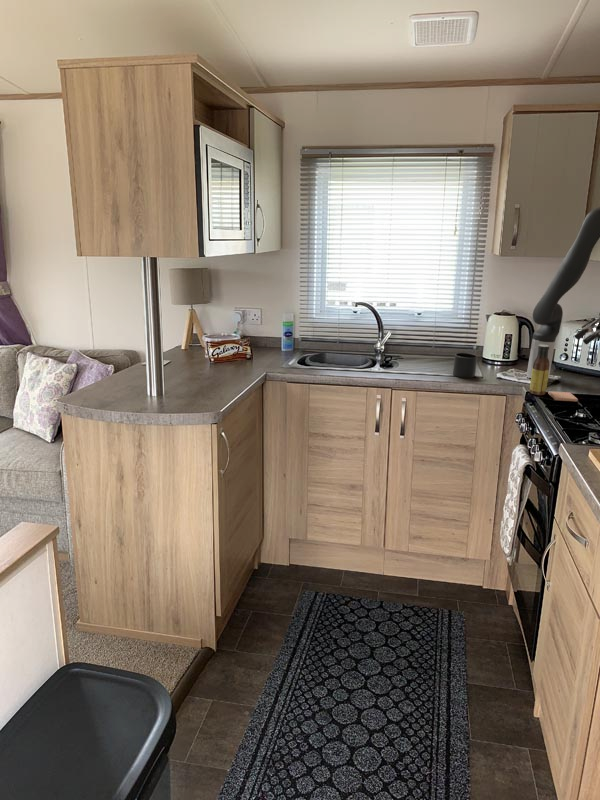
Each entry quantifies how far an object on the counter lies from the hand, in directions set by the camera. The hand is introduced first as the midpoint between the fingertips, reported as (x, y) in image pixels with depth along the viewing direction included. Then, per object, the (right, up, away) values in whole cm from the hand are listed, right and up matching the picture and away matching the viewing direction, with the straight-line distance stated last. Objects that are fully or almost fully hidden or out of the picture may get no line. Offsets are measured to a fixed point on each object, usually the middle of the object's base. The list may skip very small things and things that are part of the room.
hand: (580, 340), depth 238 cm
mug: (-38, -12, +30) cm, 50 cm away
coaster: (-5, -22, +3) cm, 23 cm away
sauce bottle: (-14, -21, +7) cm, 26 cm away
